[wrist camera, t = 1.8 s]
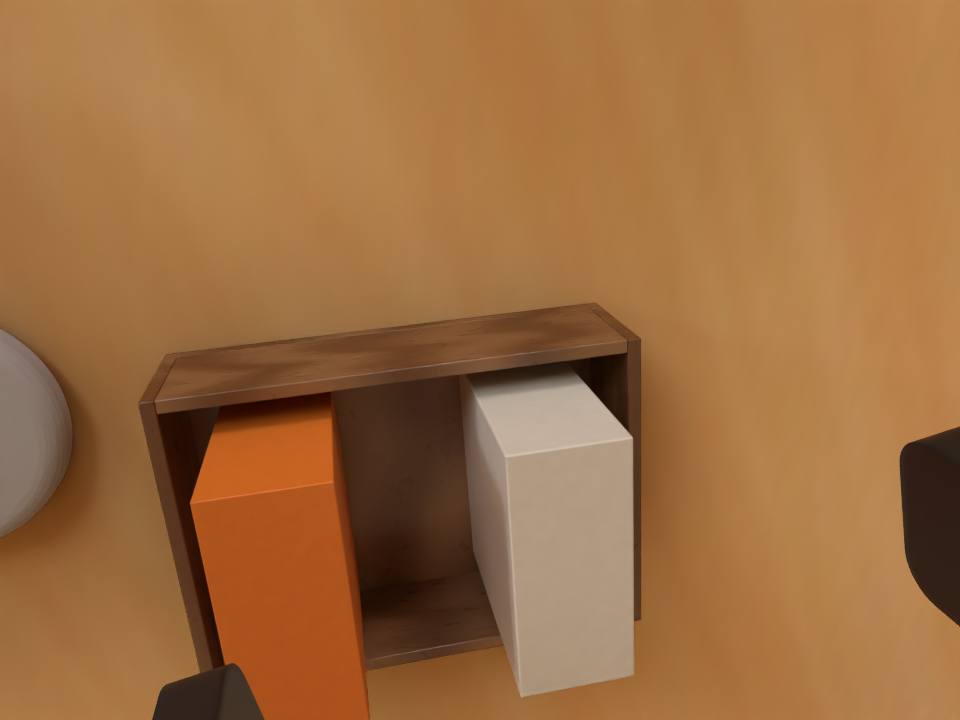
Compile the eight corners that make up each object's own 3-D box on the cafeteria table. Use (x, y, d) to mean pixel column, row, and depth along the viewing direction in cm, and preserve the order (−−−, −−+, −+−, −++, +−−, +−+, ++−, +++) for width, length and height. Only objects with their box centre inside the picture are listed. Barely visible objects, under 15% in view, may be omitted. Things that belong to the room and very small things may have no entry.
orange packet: (263, 587, 34) (243, 752, 25) (225, 388, 31) (189, 503, 22) (358, 571, 34) (370, 728, 26) (330, 375, 31) (334, 481, 23)
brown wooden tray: (221, 617, 34) (206, 701, 30) (165, 354, 30) (137, 403, 26) (601, 552, 37) (641, 620, 32) (596, 302, 33) (641, 338, 28)
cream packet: (473, 552, 35) (520, 698, 27) (456, 358, 32) (505, 456, 24) (561, 537, 36) (635, 676, 27) (553, 346, 33) (633, 436, 24)
